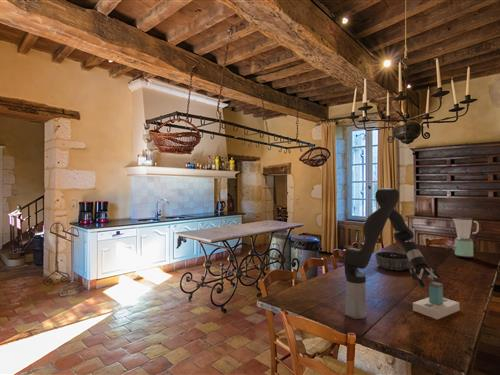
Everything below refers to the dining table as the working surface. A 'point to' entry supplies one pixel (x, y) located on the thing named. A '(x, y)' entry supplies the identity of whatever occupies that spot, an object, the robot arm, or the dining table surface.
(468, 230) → the blender
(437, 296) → the plug
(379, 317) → the dining table surface
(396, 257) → the bundt pan
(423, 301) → the block
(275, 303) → the dining table surface
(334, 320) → the dining table surface
